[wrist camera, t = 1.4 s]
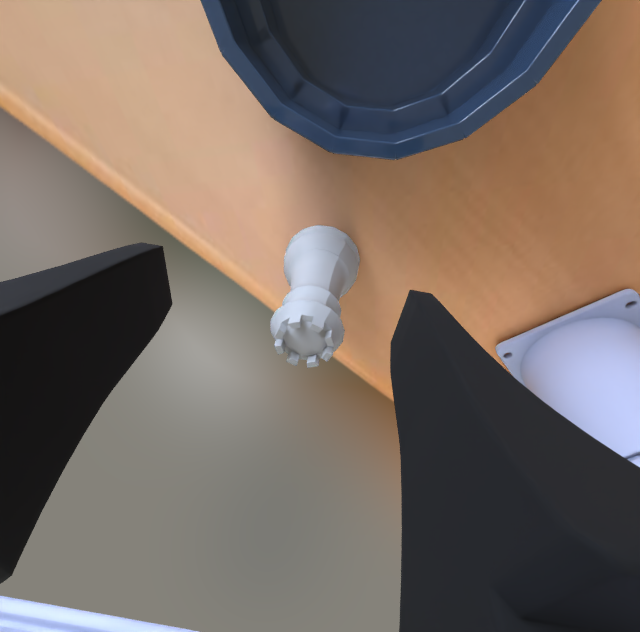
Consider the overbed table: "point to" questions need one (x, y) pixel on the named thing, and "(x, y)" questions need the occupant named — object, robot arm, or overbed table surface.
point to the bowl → (391, 64)
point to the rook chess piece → (314, 294)
